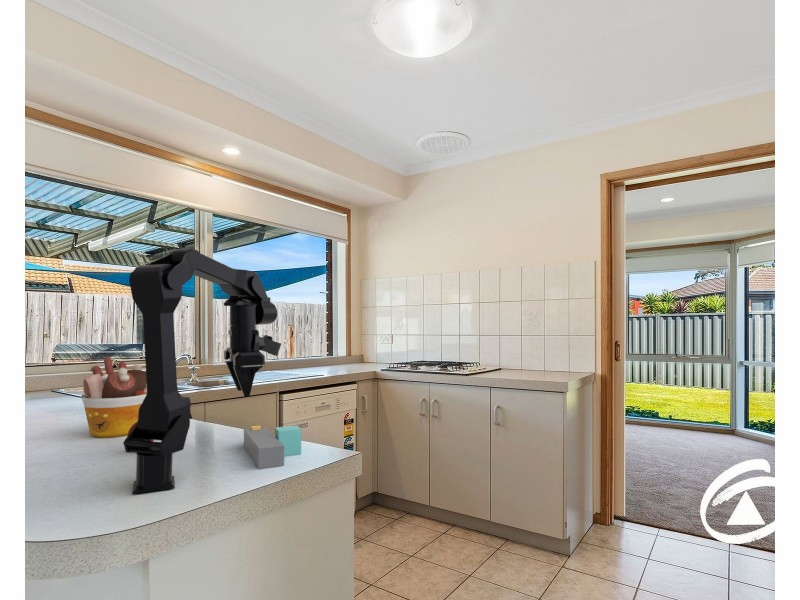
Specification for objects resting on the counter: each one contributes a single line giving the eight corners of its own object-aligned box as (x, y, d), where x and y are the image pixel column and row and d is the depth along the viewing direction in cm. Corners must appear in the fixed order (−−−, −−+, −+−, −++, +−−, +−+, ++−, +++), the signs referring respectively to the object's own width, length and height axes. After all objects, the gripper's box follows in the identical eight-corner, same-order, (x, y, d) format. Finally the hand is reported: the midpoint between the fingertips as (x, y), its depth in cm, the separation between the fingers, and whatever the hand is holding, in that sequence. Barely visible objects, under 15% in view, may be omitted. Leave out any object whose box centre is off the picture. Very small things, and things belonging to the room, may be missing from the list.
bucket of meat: (161, 433, 125) (163, 358, 126) (88, 445, 113) (91, 361, 114) (137, 422, 139) (139, 355, 140) (70, 432, 127) (72, 357, 128)
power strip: (284, 465, 96) (284, 442, 97) (258, 469, 94) (259, 445, 94) (262, 439, 118) (262, 420, 119) (240, 441, 116) (241, 422, 116)
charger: (301, 453, 105) (301, 428, 105) (268, 458, 102) (268, 432, 102) (296, 449, 109) (296, 425, 109) (265, 453, 105) (265, 428, 106)
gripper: (287, 325, 105) (288, 396, 105) (269, 323, 121) (269, 384, 121) (235, 327, 100) (235, 401, 99) (223, 325, 116) (223, 388, 116)
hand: (243, 393), depth 109 cm, fingers open, 9 cm apart
